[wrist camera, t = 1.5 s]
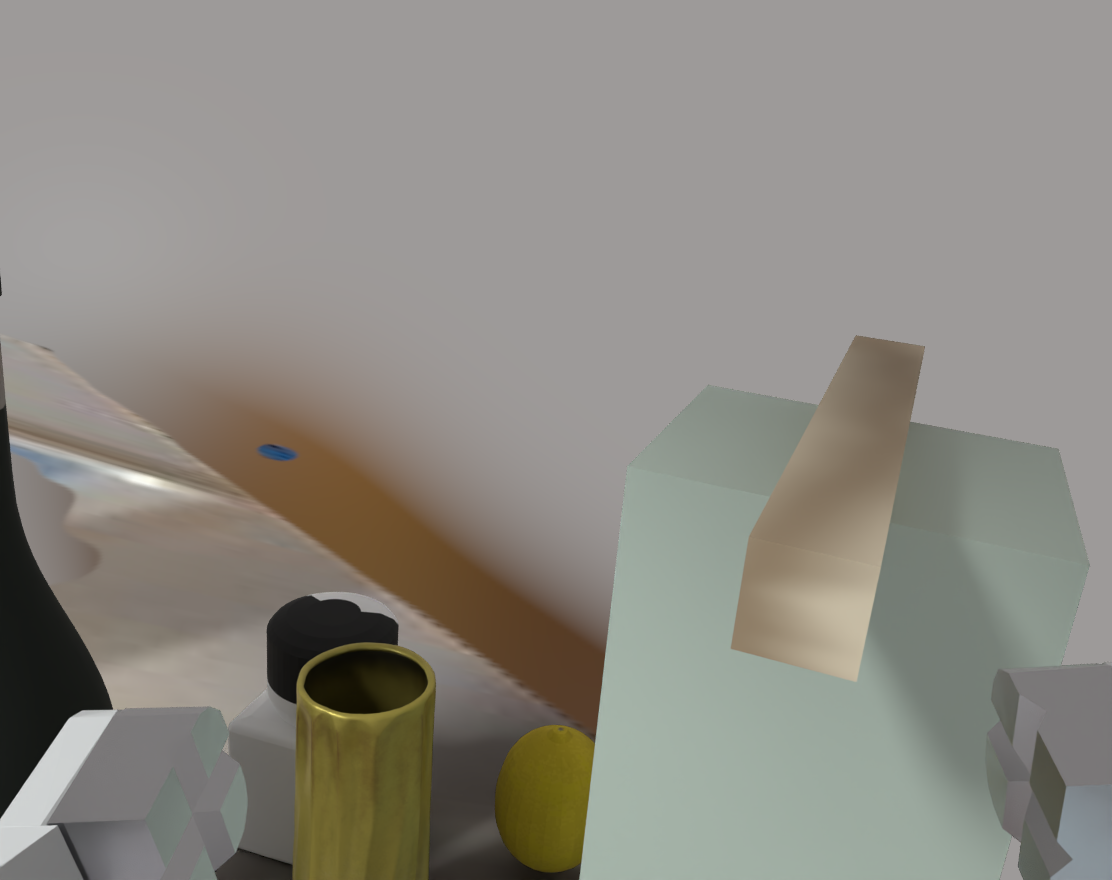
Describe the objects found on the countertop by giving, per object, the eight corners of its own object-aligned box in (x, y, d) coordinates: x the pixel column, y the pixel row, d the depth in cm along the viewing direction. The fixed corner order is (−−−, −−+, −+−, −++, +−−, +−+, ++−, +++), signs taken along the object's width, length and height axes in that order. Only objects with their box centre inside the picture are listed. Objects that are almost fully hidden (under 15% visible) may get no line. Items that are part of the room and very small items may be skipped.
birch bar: (730, 649, 20) (748, 536, 19) (844, 398, 38) (856, 335, 37) (856, 682, 19) (881, 566, 18) (911, 410, 37) (924, 346, 36)
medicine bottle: (361, 890, 47) (367, 667, 43) (227, 848, 49) (221, 630, 45) (424, 796, 54) (434, 594, 50) (304, 762, 56) (305, 565, 52)
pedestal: (551, 1123, 37) (627, 466, 29) (631, 931, 46) (708, 384, 38) (886, 1271, 34) (1089, 565, 25) (904, 1030, 43) (1058, 448, 34)
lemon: (525, 926, 46) (539, 780, 43) (470, 847, 50) (479, 710, 48) (624, 886, 49) (643, 746, 46) (564, 815, 53) (578, 684, 51)
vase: (253, 983, 42) (248, 687, 37) (349, 890, 47) (355, 620, 42) (370, 1055, 39) (381, 746, 35) (459, 949, 45) (478, 667, 40)
